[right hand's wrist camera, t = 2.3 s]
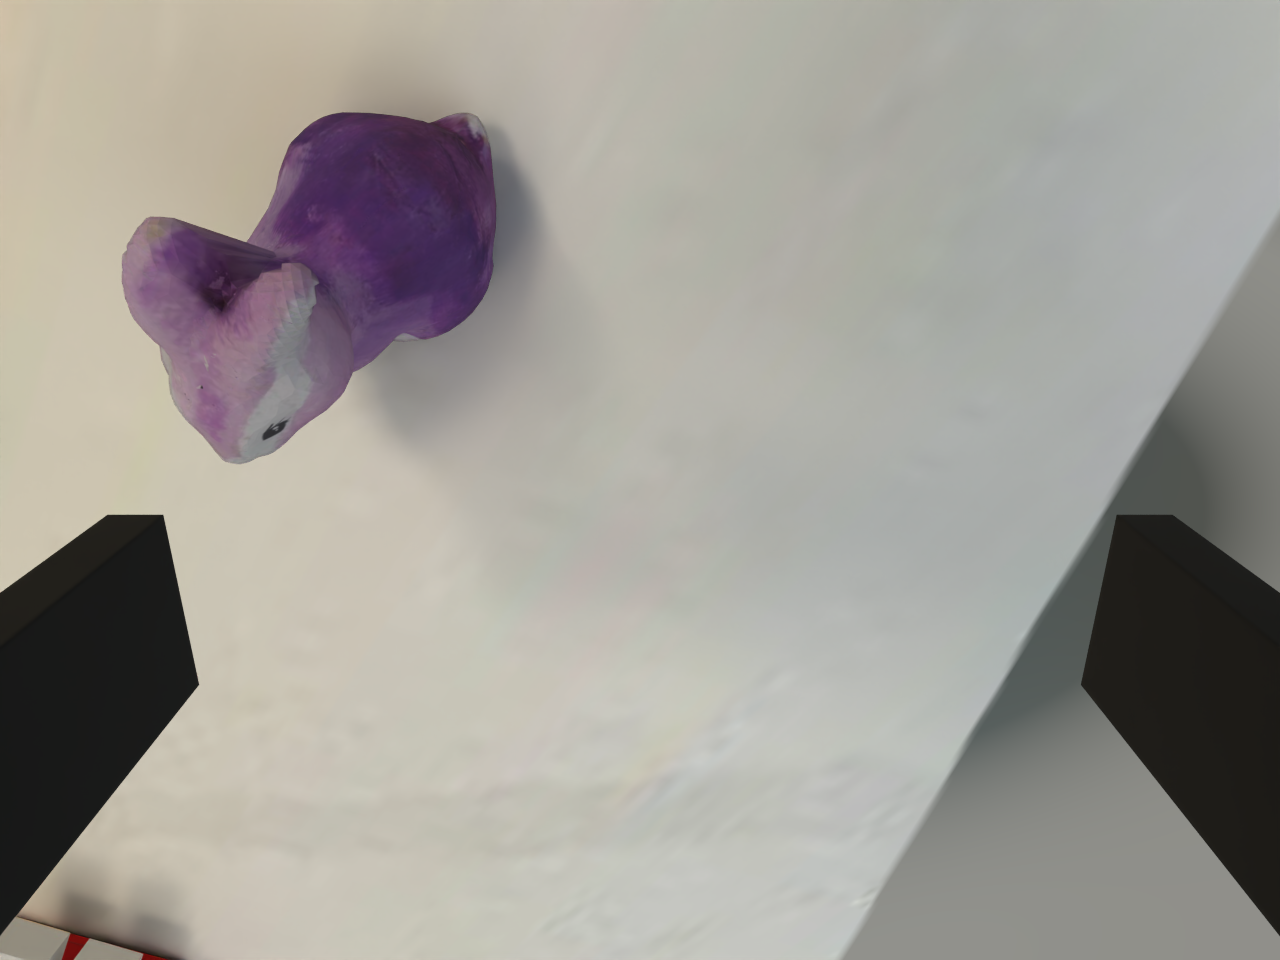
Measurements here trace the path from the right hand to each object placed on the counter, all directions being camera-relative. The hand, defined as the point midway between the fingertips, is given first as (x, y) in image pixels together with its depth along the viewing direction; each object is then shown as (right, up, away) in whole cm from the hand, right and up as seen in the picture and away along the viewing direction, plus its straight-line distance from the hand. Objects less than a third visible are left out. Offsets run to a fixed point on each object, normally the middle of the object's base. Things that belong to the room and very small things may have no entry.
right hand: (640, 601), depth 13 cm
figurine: (-10, +11, +23) cm, 27 cm away
